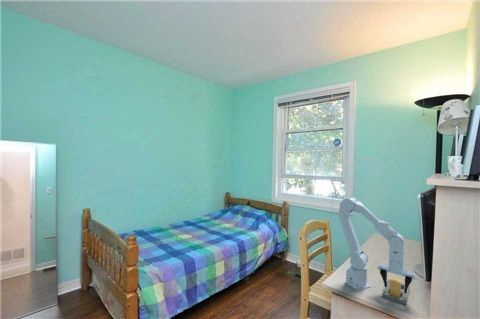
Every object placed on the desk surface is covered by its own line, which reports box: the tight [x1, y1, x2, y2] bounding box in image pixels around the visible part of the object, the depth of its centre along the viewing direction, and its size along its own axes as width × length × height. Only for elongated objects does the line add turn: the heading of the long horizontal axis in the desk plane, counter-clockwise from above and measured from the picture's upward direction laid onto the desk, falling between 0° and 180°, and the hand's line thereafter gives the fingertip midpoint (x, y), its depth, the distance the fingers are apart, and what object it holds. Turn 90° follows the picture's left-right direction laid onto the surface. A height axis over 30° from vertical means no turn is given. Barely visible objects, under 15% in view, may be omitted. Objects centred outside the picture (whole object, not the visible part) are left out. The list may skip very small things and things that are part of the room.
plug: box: [389, 276, 402, 298], centre depth 108 cm, size 4×4×8 cm
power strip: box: [381, 278, 410, 306], centre depth 111 cm, size 18×9×2 cm, turn 140°
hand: (395, 289), depth 108 cm, fingers open, 7 cm apart
